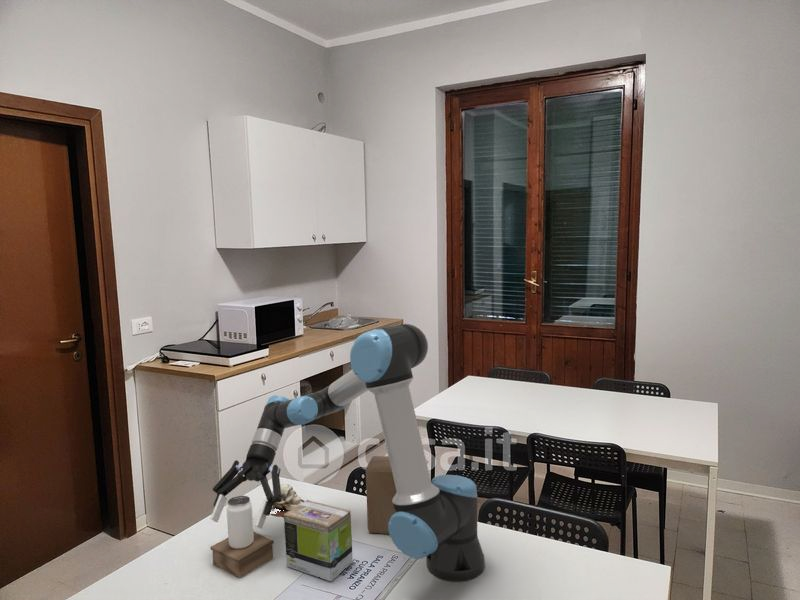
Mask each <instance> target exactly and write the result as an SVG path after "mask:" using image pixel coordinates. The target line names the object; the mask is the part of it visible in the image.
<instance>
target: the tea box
mask: <svg viewBox="0 0 800 600" xmlns="http://www.w3.org/2000/svg"><path fill="white" fill-rule="evenodd" d="M304 501H305V502H303V503H302V504H300V505H298V506H297V507H295V508H293V509H292V510H290V511H289V512H287V513H285V514H284V516H283V522H284V523H283V525H284V539H285V540H284V541H285V543H284V545H285V558H286V560H285V561H286V566H287V568H291V569H294V570H297V571H300V572H302V573H306V574H308V575H311V576H313V577H317V578H319V577H320V579H322V580H325V581H328V582H332V581H334V580H335V579H336V578H337V577H338V576H340V575H341V574H342V573H343V572H344V571H345V570H346V569H345V568H347V567H348V566H349V565H350V564H351V563H352V564H353V540H352V539H353V536H352V517H351V511H350V510H348V509H345V508H341V507H337V506H332V505H330V504H324V503H321V502H317V501H313V500H308V499H306V500H304ZM352 564H351V565H352ZM351 565H350V566H351ZM350 566H349V567H350ZM349 567H348V568H349ZM344 569H345V570H344ZM343 570H344V571H343ZM342 571H343V572H342ZM341 572H342V573H341ZM340 573H341V574H340ZM339 574H340V575H339ZM334 578H335V579H334Z"/></svg>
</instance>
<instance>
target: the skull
mask: <svg viewBox="0 0 800 600" xmlns="http://www.w3.org/2000/svg"><path fill="white" fill-rule="evenodd" d="M280 488H281V497H282V501H281V502H276V503H274V504H273V506H272V507H273V508H276V509H279V510H281V511H280V512H279V511H277V513H276V512H275V513H276V514H274V515H273V516H276V517H282V516H283V517H284V514H285V513H287V512H289V511H290V510H292V509H293V508H295V507H297V506H298V505H300V504H302V503H303V502H305V501H306V500H304V499H302V497H301V496H300V495H298V493H297V491H296V490H294V487H293V486H292V485H289V484H287V483H283V484H280ZM271 492H272V494H273V496H274V493H273V490H271ZM283 510H284V511H283Z"/></svg>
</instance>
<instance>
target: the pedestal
mask: <svg viewBox="0 0 800 600" xmlns="http://www.w3.org/2000/svg"><path fill="white" fill-rule="evenodd" d="M253 534H254V541H253V543H252V544H251V545H250V546H248V547H246V548H243V549H234V548H232V547H231V546H230V545H229V539H228V537H227V538H225V539H223V540H221V541H219V542H217V543H216V544H214V545H211V546H210V550H211V552H212V562H213V563H212V564H213V566H216V567H217V568H220V569H221V570H223V571H225V572H227V573H229V574H231V575H233V576H235V577H236V578H239V579H241V578H242V577H244V576H246V575H248V574H250V573H251V572H253V571H254V570H256V569H258V568H259V567H261V566H262V565H264V564H266V563H267V562H269V561H271V560H272V559H274V551H273V550H274V547H273V545H274V542H275V541H274V539H272V538H270V537H267V536H265V535H262V534H260V533H258V532H255V531H253Z"/></svg>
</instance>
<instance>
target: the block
mask: <svg viewBox="0 0 800 600" xmlns="http://www.w3.org/2000/svg"><path fill="white" fill-rule="evenodd" d="M365 489H366V490H365V492H366V493H365V494H366V514H367V515H366V516H367V517H366V518H367V519H366V520H367V521H366V522H367V530H368V532H369V533H370V534H385V535H389V530H388V523H389V521H390V518H391V517H392V515H394V514H395V511H394V506H393V502H392V499H393V498H394V496H395V494H396V492H397V491H396V487H395V482H394V478H393V474H392V469H391V465H390V460H389V456H385V455H383V456H382V455H373V456H372V457H371V459H370V460H369V462H368V464H367V466H366V468H365Z"/></svg>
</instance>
